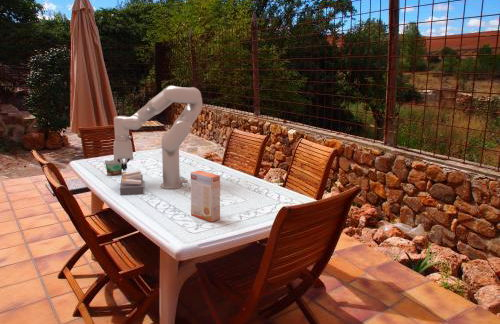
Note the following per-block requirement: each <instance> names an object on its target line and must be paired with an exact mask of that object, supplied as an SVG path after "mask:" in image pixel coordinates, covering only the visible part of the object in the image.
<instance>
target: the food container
mask: <svg viewBox="0 0 500 324" xmlns="http://www.w3.org/2000/svg"><path fill="white" fill-rule="evenodd" d="M122 160H123V159H122ZM123 161H124V160H123ZM104 165H105V168H106V176H109V177H117V176H122V175H123V173H122V172H123V169H122V168H121V163H120V162H118V161H114V159H112V160H104Z"/></svg>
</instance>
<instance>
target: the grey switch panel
mask: <svg viewBox="0 0 500 324" xmlns="http://www.w3.org/2000/svg"><path fill="white" fill-rule="evenodd" d="M143 175H144V174H142V173H141V178H137V179H133V180H141V184H129V183H122V179H123V174H121V180H120V185H119V193H120V195H119V196H132V195H144V194H145V193H144V177H143Z"/></svg>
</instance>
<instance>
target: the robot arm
mask: <svg viewBox="0 0 500 324" xmlns="http://www.w3.org/2000/svg"><path fill="white" fill-rule="evenodd" d="M173 103H177V104H180V103H181V104H186V106H185V107H184V109H183V110H182V112H181V113H180V114H179V116H178V117H177V118H176V119H175V120H174V122H173V125H172V127H171V128H170V129H169V130H168V132H166V133H164V134H163V135H162V138H161V153H162V154H161V155H162V157H161V159H162V162H161V164H162V183H161V184H160V185H159V186H160V188H161V189H165V190H175V189H176V190H177V189H180V188H182V187H183V184H188V183H189V180H188V179H185V178H181V177H180V146H181V145H182V144H183V142H184V141H185V140H186V139H187V137H188V135H189V134H190V132H191V129H192V126H193V124H194V123H195V121H196V120H197V119H198V117H199V115H200V114H201V112H202V109H203V98H202V93H201V91H200V90H199V89H198V88H196V87H193V86H192V87H184V86H183V87H182V86H176V85H167V86H166V87H165V88H164V89H162V91H160V92H159V93H158V94H157V95H155V96H154V97H153V98H151V99H150V100H149V101H147V103H146V104H145V105H144V106H142V107H141V108H140V109H138V110H137V111H136V112H135V113H134V114H133V115H131V116H127V115H118V116H117V115H116V116H114V117H113V125H114V126H113V127H114V141H113V160H114V161H118V162H120V163H121V168H122V172H126V171H127V169H128V163H129V162H130V161H133V160H134V159H135V158H134V156H133V155H134V153H133V152H134V151H133V145H132V144H133V142H132V141H131V139H133V136H132V135H130V130H133V131H137V130H139V129H141V127H142V126H143V124H145V123H146V122H147V121H149V120H151V118H153V117H154V116H156V115H159V114H160V113H162V112H163V111H164V110H165V109H167V108H168V107H170V105H172V104H173ZM122 159H125V160H122Z"/></svg>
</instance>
